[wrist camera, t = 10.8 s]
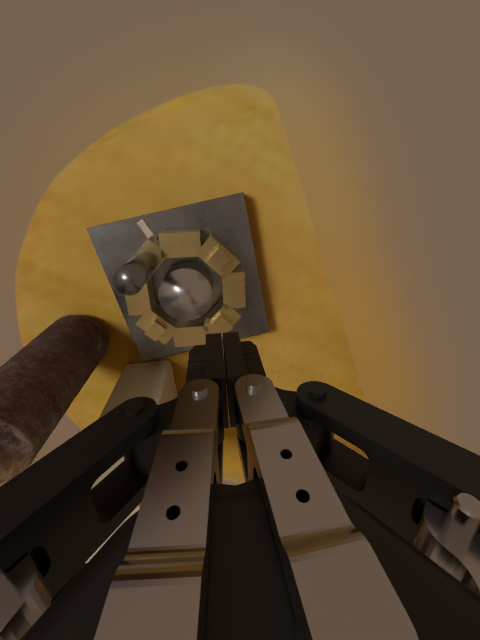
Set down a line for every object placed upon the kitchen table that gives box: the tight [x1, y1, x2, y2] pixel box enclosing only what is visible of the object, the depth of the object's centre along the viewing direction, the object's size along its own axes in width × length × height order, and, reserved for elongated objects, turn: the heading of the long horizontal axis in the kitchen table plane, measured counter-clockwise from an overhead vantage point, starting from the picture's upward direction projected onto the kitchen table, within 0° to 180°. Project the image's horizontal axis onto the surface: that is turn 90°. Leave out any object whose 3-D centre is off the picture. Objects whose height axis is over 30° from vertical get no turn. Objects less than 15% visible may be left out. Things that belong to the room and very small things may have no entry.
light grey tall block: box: [85, 360, 178, 563], centre depth 33 cm, size 8×7×21 cm
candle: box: [0, 315, 109, 483], centre depth 29 cm, size 8×7×20 cm
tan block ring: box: [113, 229, 246, 347], centre depth 30 cm, size 14×14×10 cm
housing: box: [87, 192, 269, 361], centre depth 34 cm, size 18×18×6 cm
